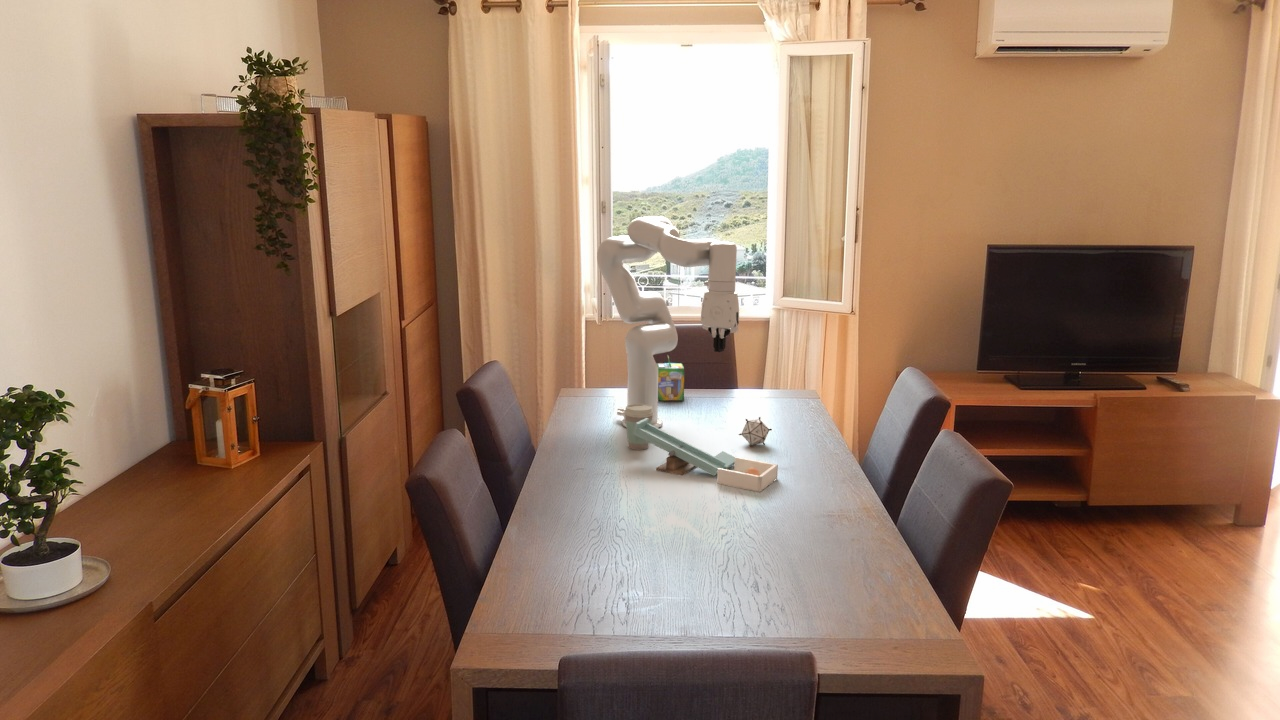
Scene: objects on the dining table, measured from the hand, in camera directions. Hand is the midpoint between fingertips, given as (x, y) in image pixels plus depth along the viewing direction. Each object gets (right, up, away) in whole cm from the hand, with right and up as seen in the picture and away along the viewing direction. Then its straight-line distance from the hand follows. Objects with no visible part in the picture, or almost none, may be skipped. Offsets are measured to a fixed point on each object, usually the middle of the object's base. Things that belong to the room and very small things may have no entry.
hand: (719, 351), depth 267 cm
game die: (+11, -28, +11) cm, 32 cm away
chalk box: (-12, -16, +62) cm, 65 cm away
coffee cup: (-23, -28, +7) cm, 37 cm away
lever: (-10, -27, -8) cm, 30 cm away
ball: (+7, -32, -21) cm, 39 cm away
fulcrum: (-12, -32, -10) cm, 35 cm away
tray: (+6, -34, -19) cm, 40 cm away
